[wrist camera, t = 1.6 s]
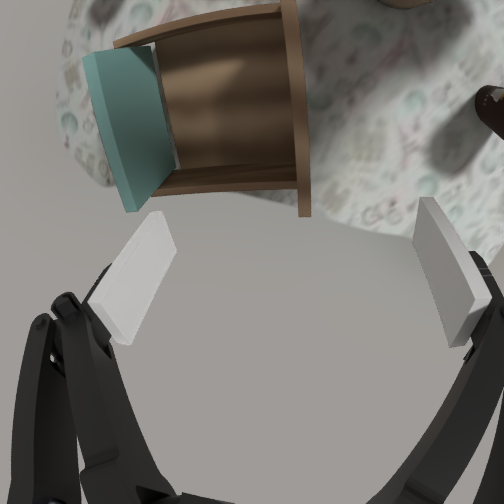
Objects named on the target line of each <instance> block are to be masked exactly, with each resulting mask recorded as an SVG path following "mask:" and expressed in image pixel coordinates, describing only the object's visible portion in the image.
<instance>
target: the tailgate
mask: <svg viewBox="0 0 504 504" xmlns="http://www.w3.org/2000/svg"><path fill="white" fill-rule="evenodd" d="M82 59H83V64H84V69H85V74H86V79H87V83H88V88H89V92H90V96H91V102H92V106H93V110H94V114H95V118H96V121H97V125H98V129H99V132H100V136H101V139H102V143H103V146H104V149H105V152H106V156H107V159H108V162H109V165H110V168H111V171H112V173H113V176H114V179H115V182H116V185H117V188H118V191H119V194H120V197H121V199H122V202H123V205H124V208H125V210H126V212H138V211H139V209H140V208H141V207H142V206H143V205H144V203H145V202H146V201H147V200H148V198H149V197H150V196H151V195H152V194H153V193H154V192H155V191H156V189H157V188H158V187H159V186H160V185H161V184H162V183H163V181H164V180H165V179H166V178H167V177H168V176H169V175H170V174H171V172H172V171H173V170H174V169H175V168H176V164H175V160H174V156H173V152H172V148H171V143H170V139H169V135H168V130H167V126H166V121H165V117H164V112H163V108H162V103H161V98H160V93H159V88H158V83H157V78H156V73H155V68H154V63H153V57H152V52H151V46H140V47H129V48H120V49H112V50H105V51H98V52H93V53H91V54H89V55H87V56H85V57H83V58H82Z"/></svg>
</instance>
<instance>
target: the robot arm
mask: <svg viewBox="0 0 504 504" xmlns="http://www.w3.org/2000/svg"><path fill="white" fill-rule="evenodd" d="M412 243H413V246H414V248H415V251H416V253H417V255H418V257H419V260H420V262H421V265H422V268H423V270H424V273H425V275H426V278H427V280H428V283H429V286H430V289H431V291H432V294H433V297H434V299H435V303H436V306H437V309H438V312H439V315H440V318H441V321H442V324H443V328H444V331H445V334H446V338H447V341H448V345H449V348H452V347H457V346H464V345H465V344H466V343H467V341H468V340H469V338H470V336H471V339H472V342H473V345H472V347H471V348H470V350H469V351H468V353H467V354H466V356H465V357H464V359H463V360H465V362H464V363H463V366H462V368H461V370H460V372H459V374H458V376H457V378H456V380H455V382H454V384H453V386H452V388H451V390H450V391H449V393H448V395H447V397H446V399H445V400H444V402H443V404H442V406H441V407H440V409H439V411H438V412H437V414H436V416H435V417H434V419H433V421H432V422H431V424H430V425H429V427H428V429H427V430H426V432H425V433H424V435H423V436H422V438H421V439H420V441H419V442H418V444H417V445H416V446H415V448H414V449H413V450H412V452H411V453H410V455H409V456H408V457H407V459H406V460H405V461H404V463H403V464H402V465H401V467H400V468H399V469H398V470H397V472H396V473H395V474H394V475H393V476H392V478H391V479H390V480H389V481H388V483H387V484H386V485H385V486H384V487H383V488H382V490H380V491H379V492H378V493H377V494H376V495H375V496H374V497H372V498H371V499H370V500H369V501H368V502H367V503H366V504H443V503H444V501H445V500H446V498H447V497H448V495H449V493H450V492H451V491H452V489H453V488H454V486H455V484H456V483H457V481H458V480H459V478H460V477H461V475H462V473H463V472H464V470H465V468H466V467H467V465H468V463H469V461H470V460H471V458H472V456H473V454H474V452H475V451H476V449H477V447H478V445H479V443H480V441H481V439H482V437H483V435H484V433H485V430H486V429H487V426H488V424H489V422H490V420H491V417H492V415H493V413H494V410H495V408H496V406H497V403H498V400H499V398H500V395H501V393H502V390H503V387H504V297H503V295H502V293H501V291H500V289H499V287H498V285H497V283H496V281H495V279H494V277H493V276H492V274H491V272H490V270H489V269H488V267H487V265H486V263H485V261H484V260H483V258H482V257H481V256H480V255H479V254H478V253H476V252H475V251H468V250H467V249H466V247H465V245H464V244H463V242H462V240H461V239H460V237H459V235H458V234H457V232H456V230H455V229H454V227H453V226H452V224H451V223H450V221H449V220H448V218H447V217H446V215H445V214H444V212H443V211H442V209H441V208H440V206H439V205H438V203H437V202H436V200H435V199H434V198H433V197H420V199H419V206H418V213H417V219H416V225H415V231H414V236H413V241H412ZM176 252H177V250H176V247H175V244H174V241H173V239H172V236H171V234H170V231H169V228H168V225H167V223H166V220H165V217H164V214H163V211H153V212H150V213H149V214H148V215H147V217H146V218H145V219H144V221H143V222H142V223H141V225H140V226H139V227H138V229H137V230H136V231H135V233H134V234H133V235H132V237H131V238H130V240H129V241H128V242H127V244H126V245H125V246H124V248H123V249H122V251H121V252H120V254H119V255H118V256H117V258H116V259H115V261H114V262H113V263H111V264H110V265H109V266H107V267H106V268H105V269H104V270H103V272H102V273H101V275H100V276H99V279H97V280H96V282H95V283H94V285H93V287H92V288H91V290H90V291H89V293H88V294H87V296H86V297H85V299H84V301H83V302H82V304H80V302H79V301H78V299H77V298H76V296H75V295H74V294H73V293H72V292H66V293H63V294H61V295H60V296H58V297H57V298H56V299H55V300H54V302H53V304H52V305H51V311H52V312H53V313H54V314H55V316H56V317H57V318H58V319H56V320H53V319H52V318H51V317H50V316H49V314H47V313H43V314H41V315H39V316H37V317H36V318H35V320H34V321H33V322H32V324H31V327H30V331H29V335H28V338H27V343H26V347H25V351H24V356H23V361H22V366H21V370H20V376H19V381H18V387H17V394H16V401H15V409H14V419H13V430H12V449H11V484H10V489H9V495H8V501H7V504H81V488H80V482H81V485H82V488H83V491H84V494H85V497H86V500H87V502H88V504H234V503H230V502H225V501H219V500H215V499H209V498H205V497H200V496H196V495H191V494H187V493H183V492H182V495H178V496H177V495H176V493H175V491H174V489H173V488H172V486H171V485H170V483H169V482H168V481H167V480H166V479H165V478H164V477H163V476H162V475H161V473H160V472H159V470H158V468H157V466H156V464H155V462H154V460H153V458H152V455H151V453H150V451H149V449H148V447H147V444H146V442H145V440H144V437H143V435H142V432H141V430H140V428H139V425H138V423H137V420H136V418H135V415H134V412H133V410H132V407H131V404H130V401H129V399H128V396H127V393H126V390H125V387H124V384H123V381H122V378H121V375H120V371H119V369H118V365H117V362H116V358H115V355H114V351H113V348H112V345H111V344H110V342H109V340H110V338H111V336H112V337H113V338H114V339H115V340H116V342H117V343H118V344H124V345H130V346H131V344H132V342H133V340H134V338H135V336H136V333H137V331H138V329H139V327H140V325H141V323H142V321H143V318H144V316H145V314H146V312H147V310H148V308H149V306H150V304H151V301H152V299H153V298H154V296H155V293H156V292H157V289H158V288H159V286H160V283H161V282H162V279H163V278H164V275H165V274H166V271H167V270H168V268H169V266H170V264H171V262H172V260H173V258H174V256H175V254H176ZM50 355H52V356H53V357H54V362H52V361H51V360H50ZM77 437H78V441H79V445H80V448H81V452H82V455H83V459H84V462H85V469H84V470H82V471H81V472H80V478H79V468H78V454H77ZM473 504H504V391H503V399H502V404H501V410H500V415H499V420H498V425H497V429H496V434H495V438H494V442H493V446H492V449H491V453H490V457H489V460H488V463H487V466H486V469H485V472H484V476H483V478H482V481H481V484H480V487H479V489H478V492H477V495H476V497H475V499H474V502H473Z"/></svg>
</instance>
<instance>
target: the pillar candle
mask: <svg viewBox="0 0 504 504" xmlns="http://www.w3.org/2000/svg"><path fill="white" fill-rule="evenodd" d="M378 1H380V2H381V3H384V4H386V5H388V6H390V7H393V8H398V9H410V8H414V7H417V6H420V5H424V4H427V3H430V2H433V1H436V0H378Z"/></svg>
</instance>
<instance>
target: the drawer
mask: <svg viewBox="0 0 504 504" xmlns="http://www.w3.org/2000/svg"><path fill="white" fill-rule="evenodd" d="M152 42H155V46H156V52H157V57H158V63H159V68H160V73H161V78H162V84H163V89H164V94H165V98H166V103H167V108H168V113H169V117H170V122H171V127H172V131H173V136H174V140H175V145H176V149H177V153H178V157H179V162H180V166H181V169H180V170H173V171H172V172H171V174H170V175H169V176H168V177H167V178H166V179H165V180H164V181H163V183H162V184H161V185H160V186H159V187H158V188H157V189H156V191H155V192H154V193H153V194H152V195H151V197H157V196H167V195H181V194H193V193H210V192H227V191H248V190H278V189H297V190H298V210H299V211H298V212H299V217H311V182H310V154H309V133H308V116H307V101H306V88H305V76H304V65H303V55H302V45H301V36H300V28H299V20H298V12H297V5H296V0H280V3H275V4H263V5H254V6H246V7H239V8H232V9H226V10H220V11H215V12H210V13H205V14H200V15H196V16H192V17H187V18H183V19H180V20H176V21H172V22H169V23H165V24H162V25H158V26H155V27H152V28H149V29H146V30H143V31H140V32H137V33H134V34H132V35H129V36H126V37H123V38H121V39H118V40H116V41H113V45H114V49H119V48H128V47H139V46H142V45H145V44H149V43H152Z"/></svg>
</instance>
